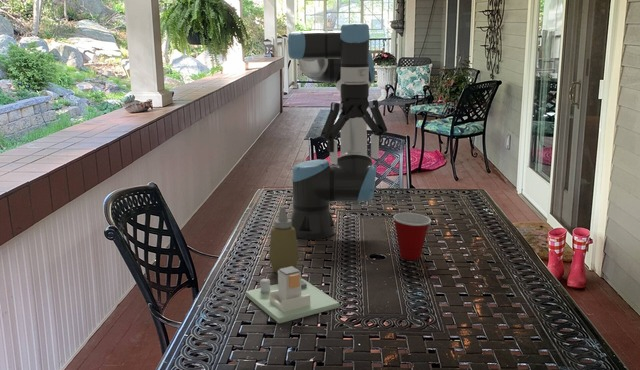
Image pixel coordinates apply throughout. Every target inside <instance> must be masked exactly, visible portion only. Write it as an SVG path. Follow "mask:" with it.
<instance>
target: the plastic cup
mask: <svg viewBox="0 0 640 370" xmlns="http://www.w3.org/2000/svg"><path fill="white" fill-rule="evenodd" d="M392 217H393V221H394V225H395V231H396V237H397V245H398V251H399V255H400V258H401V259H402V260H406V261H407V260H408V261H415V260H419V259H420V258H421V256H422V252H423V248H424V244H425V239H426V235H427V230H428V228H429V225H430V224H431V222H432V220H431V218H430V217H429V216H426V215H424V214H420V213H415V212H398V213H395V214H393V216H392Z"/></svg>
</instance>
